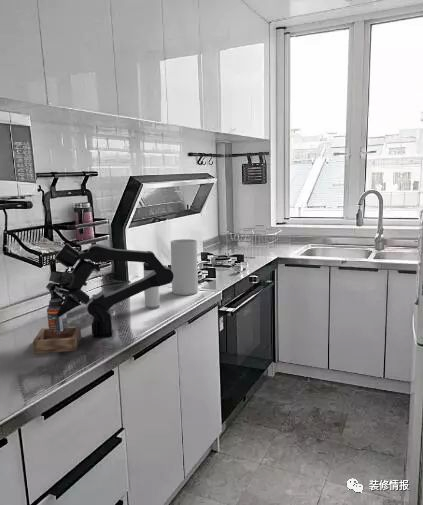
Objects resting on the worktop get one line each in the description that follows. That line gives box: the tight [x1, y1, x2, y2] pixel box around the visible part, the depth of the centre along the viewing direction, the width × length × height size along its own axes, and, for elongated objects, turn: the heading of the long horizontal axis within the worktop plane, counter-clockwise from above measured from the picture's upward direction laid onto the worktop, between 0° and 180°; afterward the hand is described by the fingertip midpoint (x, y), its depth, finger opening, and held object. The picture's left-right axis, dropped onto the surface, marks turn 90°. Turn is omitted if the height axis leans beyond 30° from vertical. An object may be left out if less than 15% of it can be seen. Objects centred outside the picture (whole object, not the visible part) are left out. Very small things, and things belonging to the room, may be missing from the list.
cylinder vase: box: [170, 238, 199, 296], centre depth 221 cm, size 12×12×25 cm
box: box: [32, 325, 82, 354], centre depth 154 cm, size 13×13×4 cm
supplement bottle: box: [46, 299, 69, 335], centre depth 153 cm, size 6×6×11 cm
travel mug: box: [142, 262, 161, 310], centre depth 197 cm, size 6×7×20 cm
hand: (52, 314), depth 152 cm, fingers closed on supplement bottle, 6 cm apart
